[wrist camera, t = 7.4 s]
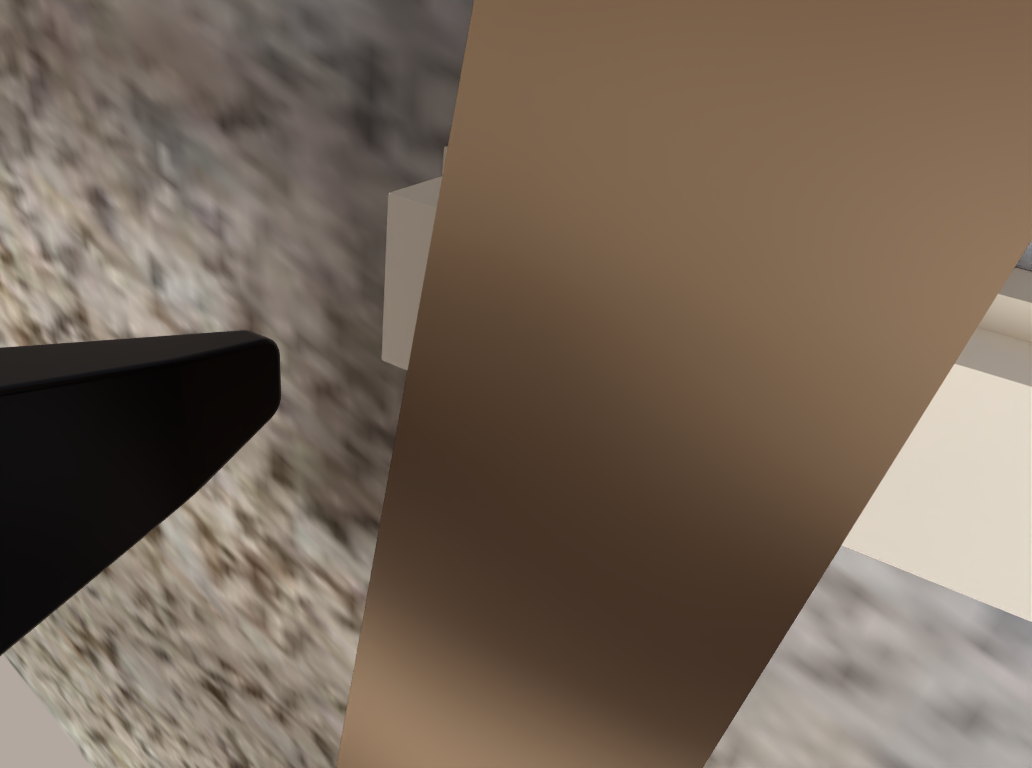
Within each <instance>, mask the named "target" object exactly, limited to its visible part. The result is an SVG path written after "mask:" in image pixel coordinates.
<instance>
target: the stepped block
mask: <svg viewBox="0 0 1032 768" xmlns="http://www.w3.org/2000/svg"><path fill="white" fill-rule="evenodd" d="M447 148H448V146H445V147H444V154H443V168H442V176H443V170H444V165H445V159H446V154H447ZM442 176H441V177H438V178H434V179H431V180H428V181H425V182H422V183H418V184H415V185H412V186H409V187H405V188H402V189H399V190H396V191H392V192H389V193H388V210H387V236H386V261H385V286H384V312H383V337H382V361H385V362H387V363H390V364H392V365H395V366H397V367H400V368H402V369H405V370H407V371H408V365H409V360H410V354H411V348H412V343H413V337H414V332H415V326H416V321H417V315H418V309H419V304H420V298H421V293H422V287H423V282H424V276H425V270H426V265H427V259H428V254H429V248H430V243H431V237H432V232H433V226H434V220H435V215H436V209H437V204H438V198H439V193H440V187H441V181H442ZM842 546H844V547H847V548H849V549H852V550H854V551H857V552H859V553H862V554H864V555H867V556H869V557H872V558H874V559H877V560H879V561H882V562H884V563H887V564H889V565H892V566H894V567H897V568H899V569H902V570H904V571H906V572H909V573H911V574H914V575H916V576H919V577H921V578H924V579H926V580H929V581H931V582H934V583H936V584H939V585H941V586H944V587H946V588H949V589H951V590H954V591H956V592H959V593H961V594H964V595H966V596H969V597H971V598H974V599H976V600H979V601H981V602H983V603H986V604H988V605H991V606H993V607H996V608H998V609H1001V610H1003V611H1006V612H1008V613H1011V614H1013V615H1016V616H1018V617H1021V618H1023V619H1026V620H1028V621H1031V622H1032V272H1031V271H1027V270H1023V269H1019V268H1014V269H1013V271H1012V272H1011V274H1010V276H1009V277H1008V279H1007V280H1006V282H1005V284H1004V285H1003V287H1002V288H1001V290H1000V292H999V293H998V295H997V296H996V298H995V300H994V301H993V303H992V304H991V306H990V308H989V309H988V311H987V312H986V314H985V316H984V317H983V319H982V320H981V322H980V324H979V325H978V327H977V328H976V330H975V332H974V333H973V335H972V336H971V338H970V340H969V341H968V343H967V345H966V346H965V348H964V349H963V351H962V353H961V354H960V356H959V357H958V359H957V361H956V362H955V364H954V365H953V367H952V369H951V370H950V372H949V373H948V375H947V377H946V378H945V380H944V381H943V383H942V385H941V386H940V388H939V389H938V391H937V393H936V394H935V396H934V397H933V399H932V401H931V402H930V404H929V405H928V407H927V409H926V410H925V412H924V413H923V415H922V417H921V418H920V420H919V422H918V423H917V425H916V426H915V428H914V430H913V431H912V433H911V434H910V436H909V438H908V439H907V441H906V442H905V444H904V446H903V447H902V449H901V450H900V452H899V454H898V455H897V457H896V458H895V460H894V462H893V463H892V465H891V466H890V468H889V470H888V471H887V473H886V474H885V476H884V478H883V479H882V481H881V482H880V484H879V486H878V487H877V489H876V490H875V492H874V494H873V495H872V497H871V499H870V500H869V502H868V503H867V505H866V507H865V508H864V510H863V511H862V513H861V515H860V516H859V518H858V519H857V521H856V523H855V524H854V526H853V527H852V529H851V531H850V532H849V534H848V535H847V537H846V539H845V540H844V542H843V543H842Z"/></svg>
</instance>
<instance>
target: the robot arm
mask: <svg viewBox="0 0 1032 768" xmlns="http://www.w3.org/2000/svg"><path fill="white" fill-rule="evenodd" d="M280 400H281V378H280V353H279V349H278V347H277V344H276V343H275V342H274V341H273V340H271V339H269V338H267V337H264V336H262V335H260V334H257V333H255V332H252V331H248V330H241V331H227V332H213V333H199V334H185V335H171V336H157V337H143V338H129V339H116V340H102V341H88V342H74V343H60V344H46V345H32V346H18V347H4V348H0V656H1V655H2V654H3V653H5V652H6V651H7V650H8V649H9V648H11V647H12V646H13V645H14V644H15V643H17V642H18V641H19V640H20V639H21V638H23V637H24V636H25V635H26V634H27V633H29V632H30V631H31V630H32V629H33V628H35V627H36V626H37V625H38V624H39V623H41V622H42V621H43V620H44V619H46V618H47V617H48V616H49V615H50V614H52V613H53V612H54V611H55V610H56V609H58V608H59V607H60V606H61V605H62V604H64V603H65V602H66V601H67V600H68V599H70V598H71V597H72V596H73V595H74V594H76V593H77V592H78V591H79V590H80V589H82V588H83V587H84V586H85V585H86V584H88V583H89V582H90V581H91V580H93V579H94V578H95V577H96V576H97V575H99V574H100V573H101V572H102V571H103V570H105V569H106V568H107V567H108V566H109V565H111V564H112V563H113V562H114V561H115V560H117V559H118V558H119V557H120V556H121V555H123V554H124V553H125V552H126V551H127V550H129V549H130V548H131V547H132V546H134V545H135V544H136V543H137V542H138V541H140V540H141V539H142V538H143V537H144V536H146V535H147V534H148V533H149V532H150V531H152V530H153V529H154V528H155V527H156V526H158V525H159V524H160V523H161V522H162V521H164V520H165V519H166V518H167V517H168V516H170V515H171V514H172V513H173V512H174V511H176V510H177V509H178V508H179V507H180V506H182V505H183V504H184V503H185V502H186V501H187V500H189V499H190V498H191V497H192V496H193V495H194V494H195V493H196V492H197V491H198V490H199V489H201V488H202V487H203V486H204V485H205V484H206V483H207V482H208V481H209V480H210V479H211V478H212V477H213V476H214V475H215V474H216V473H217V472H218V471H219V470H220V469H221V468H222V467H223V466H224V465H225V464H226V463H227V462H228V461H229V460H230V459H231V458H232V457H233V456H234V455H235V454H236V453H237V452H238V451H239V450H240V449H241V448H242V447H243V446H244V445H245V444H246V443H247V442H248V441H249V440H250V439H251V438H252V437H253V436H254V435H255V434H256V433H257V432H258V431H259V430H260V429H261V428H262V427H263V426H264V425H265V424H266V423H267V422H268V421H269V420H270V419H271V418H272V417H273V415H274V414H275V413H276V411H277V409H278V407H279V405H280Z"/></svg>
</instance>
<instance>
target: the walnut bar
mask: <svg viewBox="0 0 1032 768" xmlns="http://www.w3.org/2000/svg"><path fill="white" fill-rule="evenodd" d="M1031 240H1032V0H474V3H473V9H472V15H471V20H470V26H469V31H468V37H467V42H466V48H465V53H464V59H463V65H462V70H461V76H460V81H459V87H458V92H457V98H456V104H455V109H454V115H453V120H452V126H451V131H450V137H449V143H448V148H447V154H446V159H445V165H444V170H443V176H442V181H441V187H440V193H439V198H438V204H437V209H436V215H435V220H434V226H433V232H432V237H431V243H430V248H429V254H428V259H427V265H426V270H425V276H424V282H423V287H422V293H421V298H420V304H419V309H418V315H417V321H416V326H415V332H414V337H413V343H412V348H411V354H410V360H409V365H408V371H407V376H406V382H405V387H404V393H403V398H402V404H401V410H400V415H399V421H398V426H397V432H396V437H395V443H394V449H393V454H392V460H391V465H390V471H389V476H388V482H387V488H386V493H385V499H384V504H383V510H382V515H381V521H380V526H379V532H378V538H377V543H376V549H375V554H374V560H373V565H372V571H371V577H370V582H369V588H368V593H367V599H366V604H365V610H364V615H363V621H362V627H361V632H360V638H359V643H358V649H357V654H356V660H355V666H354V671H353V677H352V682H351V688H350V693H349V699H348V705H347V710H346V716H345V721H344V727H343V732H342V738H341V743H340V749H339V755H338V760H337V766H336V768H703V766H704V765H705V763H706V762H707V760H708V758H709V757H710V755H711V754H712V752H713V750H714V749H715V747H716V746H717V744H718V742H719V741H720V739H721V738H722V736H723V734H724V733H725V731H726V729H727V728H728V726H729V725H730V723H731V721H732V720H733V718H734V717H735V715H736V713H737V712H738V710H739V709H740V707H741V705H742V704H743V702H744V701H745V699H746V697H747V696H748V694H749V693H750V691H751V689H752V688H753V686H754V685H755V683H756V681H757V680H758V678H759V677H760V675H761V673H762V672H763V670H764V669H765V667H766V665H767V664H768V662H769V661H770V659H771V657H772V656H773V654H774V653H775V651H776V649H777V648H778V646H779V644H780V643H781V641H782V640H783V638H784V636H785V635H786V633H787V632H788V630H789V628H790V627H791V625H792V624H793V622H794V620H795V619H796V617H797V616H798V614H799V612H800V611H801V609H802V608H803V606H804V604H805V603H806V601H807V600H808V598H809V596H810V595H811V593H812V592H813V590H814V588H815V587H816V585H817V584H818V582H819V580H820V579H821V577H822V576H823V574H824V572H825V571H826V569H827V567H828V566H829V564H830V563H831V561H832V559H833V558H834V556H835V555H836V553H837V551H838V550H839V548H840V547H841V545H842V543H843V542H844V540H845V539H846V537H847V535H848V534H849V532H850V531H851V529H852V527H853V526H854V524H855V523H856V521H857V519H858V518H859V516H860V515H861V513H862V511H863V510H864V508H865V507H866V505H867V503H868V502H869V500H870V499H871V497H872V495H873V494H874V492H875V490H876V489H877V487H878V486H879V484H880V482H881V481H882V479H883V478H884V476H885V474H886V473H887V471H888V470H889V468H890V466H891V465H892V463H893V462H894V460H895V458H896V457H897V455H898V454H899V452H900V450H901V449H902V447H903V446H904V444H905V442H906V441H907V439H908V438H909V436H910V434H911V433H912V431H913V430H914V428H915V426H916V425H917V423H918V422H919V420H920V418H921V417H922V415H923V413H924V412H925V410H926V409H927V407H928V405H929V404H930V402H931V401H932V399H933V397H934V396H935V394H936V393H937V391H938V389H939V388H940V386H941V385H942V383H943V381H944V380H945V378H946V377H947V375H948V373H949V372H950V370H951V369H952V367H953V365H954V364H955V362H956V361H957V359H958V357H959V356H960V354H961V353H962V351H963V349H964V348H965V346H966V345H967V343H968V341H969V340H970V338H971V336H972V335H973V333H974V332H975V330H976V328H977V327H978V325H979V324H980V322H981V320H982V319H983V317H984V316H985V314H986V312H987V311H988V309H989V308H990V306H991V304H992V303H993V301H994V300H995V298H996V296H997V295H998V293H999V292H1000V290H1001V288H1002V287H1003V285H1004V284H1005V282H1006V280H1007V279H1008V277H1009V276H1010V274H1011V272H1012V271H1013V269H1014V268H1015V266H1016V264H1017V263H1018V261H1019V259H1020V258H1021V256H1022V255H1023V253H1024V251H1025V250H1026V248H1027V247H1028V245H1029V243H1030V242H1031Z"/></svg>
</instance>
